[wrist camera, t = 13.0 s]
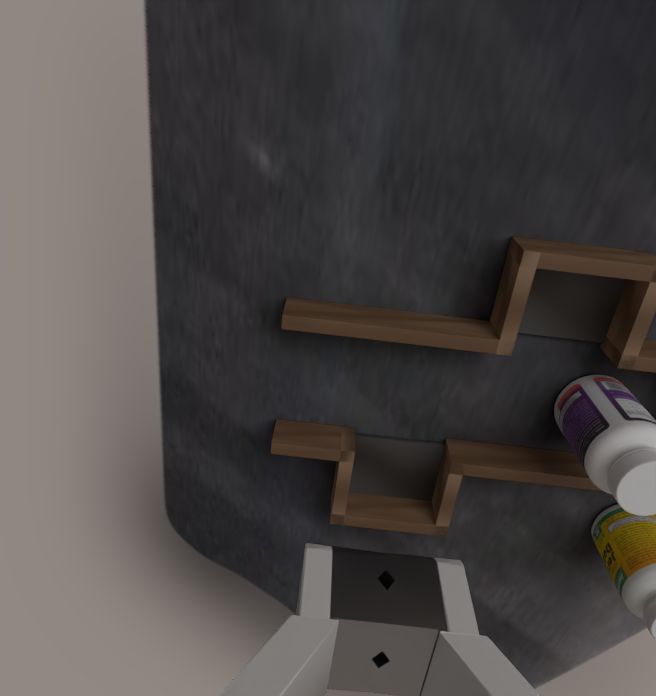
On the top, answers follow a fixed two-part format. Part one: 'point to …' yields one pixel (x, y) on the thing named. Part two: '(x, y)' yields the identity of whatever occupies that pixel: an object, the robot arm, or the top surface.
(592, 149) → the top surface
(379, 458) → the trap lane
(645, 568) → the supplement bottle
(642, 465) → the pill bottle
